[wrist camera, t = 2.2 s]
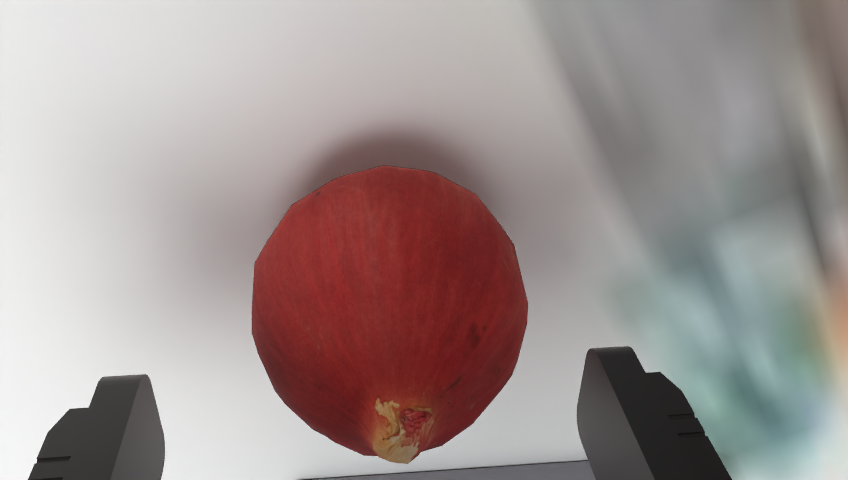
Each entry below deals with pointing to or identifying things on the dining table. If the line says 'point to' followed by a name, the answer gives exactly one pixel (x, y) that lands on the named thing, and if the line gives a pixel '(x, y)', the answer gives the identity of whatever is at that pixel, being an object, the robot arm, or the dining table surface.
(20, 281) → the dining table surface
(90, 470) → the robot arm
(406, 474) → the bin
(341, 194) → the onion
